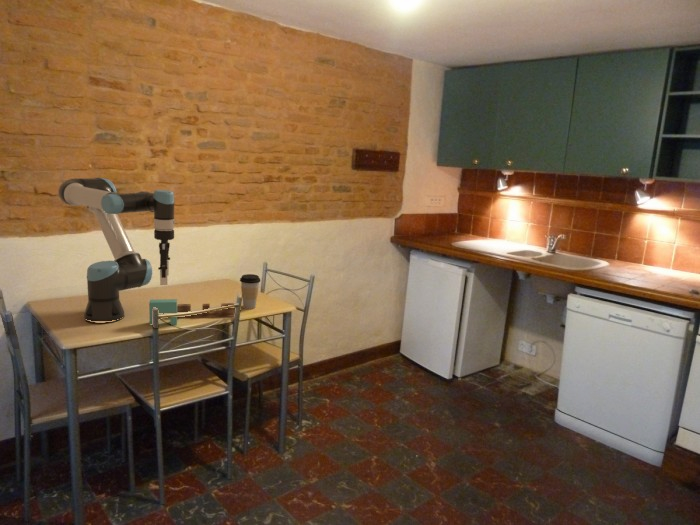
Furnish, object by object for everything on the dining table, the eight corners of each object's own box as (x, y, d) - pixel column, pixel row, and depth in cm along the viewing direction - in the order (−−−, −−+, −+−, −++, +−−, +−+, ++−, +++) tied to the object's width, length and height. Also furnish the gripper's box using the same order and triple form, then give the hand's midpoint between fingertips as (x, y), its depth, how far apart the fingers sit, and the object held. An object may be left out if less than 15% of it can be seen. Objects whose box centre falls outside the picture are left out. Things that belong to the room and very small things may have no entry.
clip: (149, 325, 209) (149, 302, 207) (150, 322, 213) (150, 299, 211) (176, 325, 212) (176, 302, 210) (177, 321, 216) (177, 299, 213)
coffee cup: (243, 311, 234) (244, 279, 231) (236, 305, 242) (236, 274, 238) (262, 308, 239) (263, 278, 236) (254, 302, 247) (255, 273, 244)
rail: (177, 318, 220) (177, 307, 218) (177, 313, 225) (177, 303, 224) (234, 316, 226) (234, 306, 225) (233, 312, 231) (233, 302, 230)
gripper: (173, 235, 194) (173, 288, 199) (174, 223, 217) (174, 271, 222) (152, 235, 191) (152, 289, 196) (156, 223, 214) (156, 271, 219)
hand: (164, 280), depth 209 cm, fingers open, 13 cm apart
